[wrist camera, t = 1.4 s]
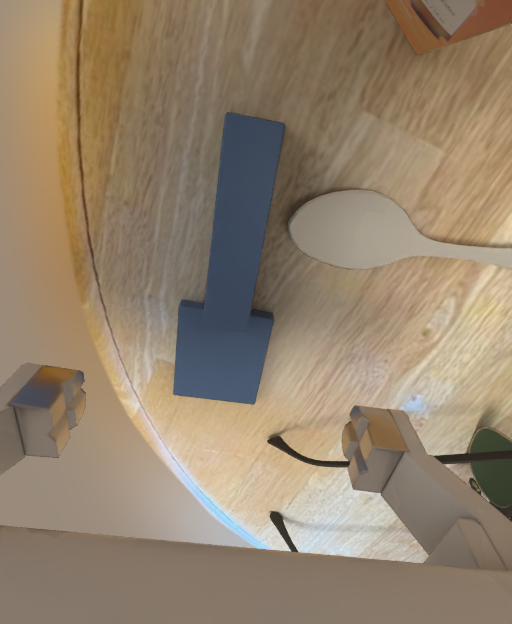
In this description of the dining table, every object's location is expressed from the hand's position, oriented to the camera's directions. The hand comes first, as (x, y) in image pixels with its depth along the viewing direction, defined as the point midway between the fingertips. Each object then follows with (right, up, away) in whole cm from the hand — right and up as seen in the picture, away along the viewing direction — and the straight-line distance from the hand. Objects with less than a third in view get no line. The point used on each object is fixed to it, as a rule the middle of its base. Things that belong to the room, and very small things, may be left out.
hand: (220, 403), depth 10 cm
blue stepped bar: (0, +4, +10) cm, 10 cm away
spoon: (+13, +6, +9) cm, 17 cm away
